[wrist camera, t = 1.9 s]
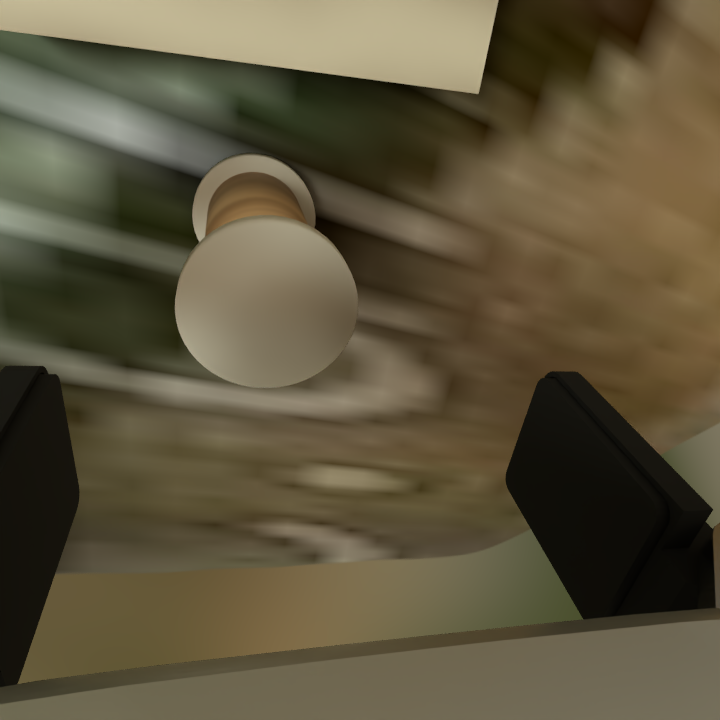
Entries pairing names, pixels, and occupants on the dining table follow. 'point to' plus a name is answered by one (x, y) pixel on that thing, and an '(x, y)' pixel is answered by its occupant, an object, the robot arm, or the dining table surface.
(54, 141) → the dining table surface
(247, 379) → the bobbin
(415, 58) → the socket board
